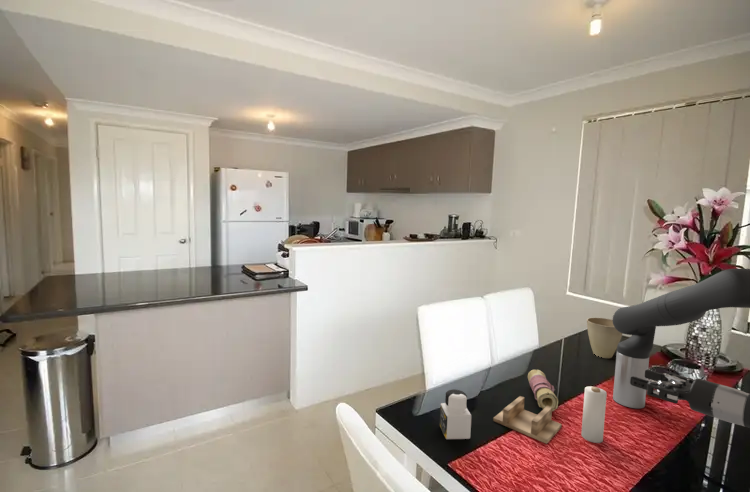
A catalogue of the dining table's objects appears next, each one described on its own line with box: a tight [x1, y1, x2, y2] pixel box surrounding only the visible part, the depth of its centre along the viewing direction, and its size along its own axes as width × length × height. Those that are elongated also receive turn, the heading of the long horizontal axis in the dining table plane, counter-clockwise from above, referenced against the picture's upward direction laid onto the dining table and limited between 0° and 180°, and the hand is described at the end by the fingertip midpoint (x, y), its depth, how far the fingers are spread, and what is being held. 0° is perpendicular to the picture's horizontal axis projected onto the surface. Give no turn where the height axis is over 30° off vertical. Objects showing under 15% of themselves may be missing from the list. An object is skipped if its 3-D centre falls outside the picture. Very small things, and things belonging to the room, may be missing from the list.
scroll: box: [527, 369, 559, 412], centre depth 130 cm, size 8×8×20 cm
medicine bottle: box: [439, 388, 472, 440], centre depth 109 cm, size 7×7×12 cm
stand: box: [492, 395, 562, 444], centre depth 115 cm, size 12×16×5 cm
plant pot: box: [586, 317, 624, 359], centre depth 174 cm, size 15×15×16 cm
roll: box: [581, 385, 608, 444], centre depth 108 cm, size 5×5×15 cm
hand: (638, 376), depth 98 cm, fingers open, 8 cm apart
